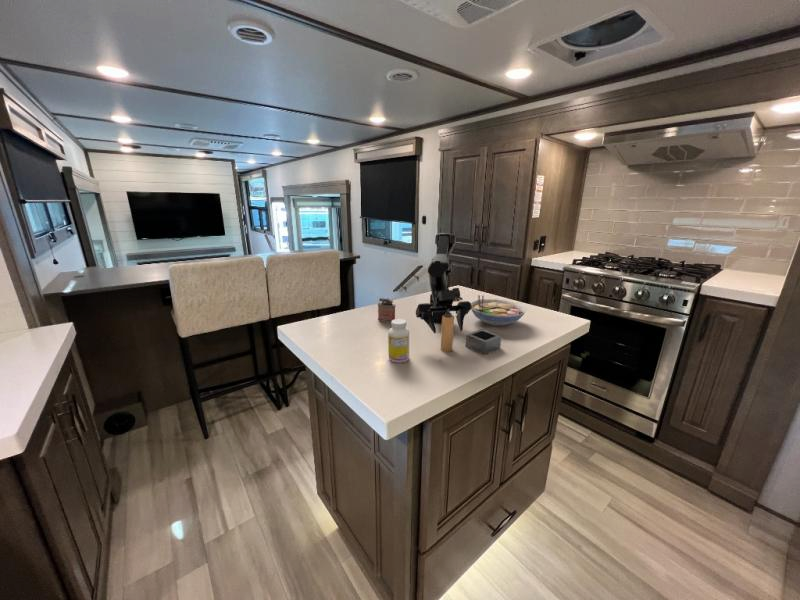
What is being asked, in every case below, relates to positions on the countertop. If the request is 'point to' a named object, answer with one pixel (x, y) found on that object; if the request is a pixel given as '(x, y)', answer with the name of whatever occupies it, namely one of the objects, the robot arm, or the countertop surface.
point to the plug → (447, 331)
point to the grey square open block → (483, 341)
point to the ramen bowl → (497, 311)
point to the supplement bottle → (398, 341)
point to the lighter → (386, 310)
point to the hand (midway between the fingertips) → (448, 332)
